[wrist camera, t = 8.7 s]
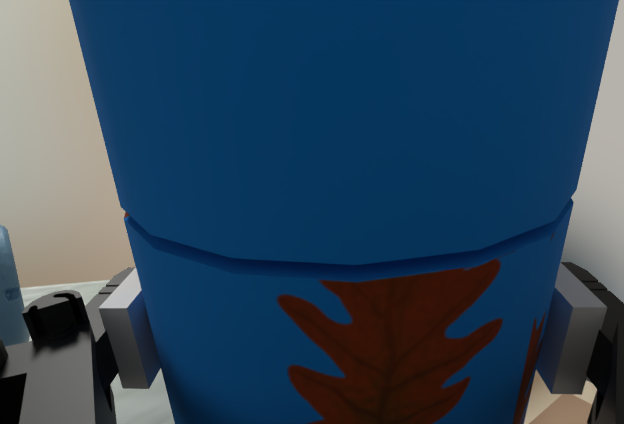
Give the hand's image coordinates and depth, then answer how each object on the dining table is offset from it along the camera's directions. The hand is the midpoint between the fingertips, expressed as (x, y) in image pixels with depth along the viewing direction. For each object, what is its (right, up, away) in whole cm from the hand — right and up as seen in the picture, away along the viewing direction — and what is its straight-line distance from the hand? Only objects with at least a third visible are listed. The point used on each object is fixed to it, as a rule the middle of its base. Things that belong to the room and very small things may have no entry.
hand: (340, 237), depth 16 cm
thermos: (0, -14, +1) cm, 14 cm away
